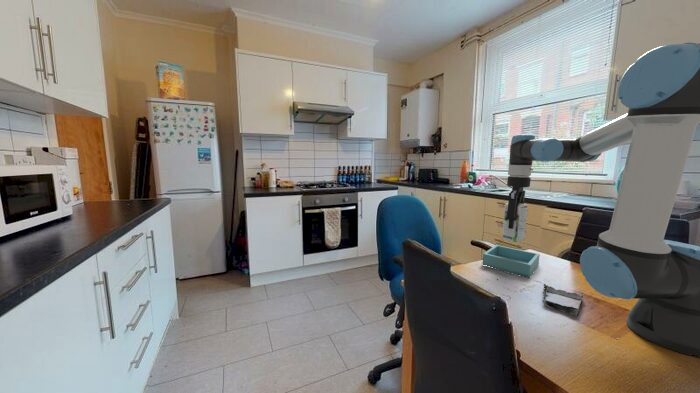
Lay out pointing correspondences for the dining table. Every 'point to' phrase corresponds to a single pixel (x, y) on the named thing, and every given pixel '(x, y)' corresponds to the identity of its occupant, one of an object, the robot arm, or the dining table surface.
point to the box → (511, 260)
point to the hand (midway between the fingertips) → (513, 234)
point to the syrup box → (519, 223)
